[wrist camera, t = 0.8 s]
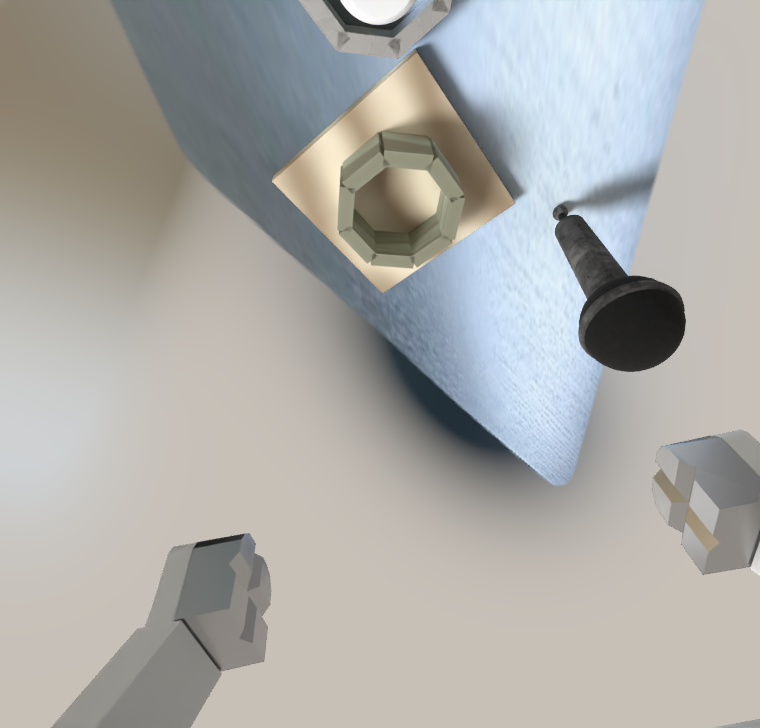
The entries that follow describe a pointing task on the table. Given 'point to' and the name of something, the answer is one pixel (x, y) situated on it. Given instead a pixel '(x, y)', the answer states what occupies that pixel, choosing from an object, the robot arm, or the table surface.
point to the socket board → (395, 177)
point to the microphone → (619, 303)
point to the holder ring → (377, 39)
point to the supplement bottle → (378, 10)
